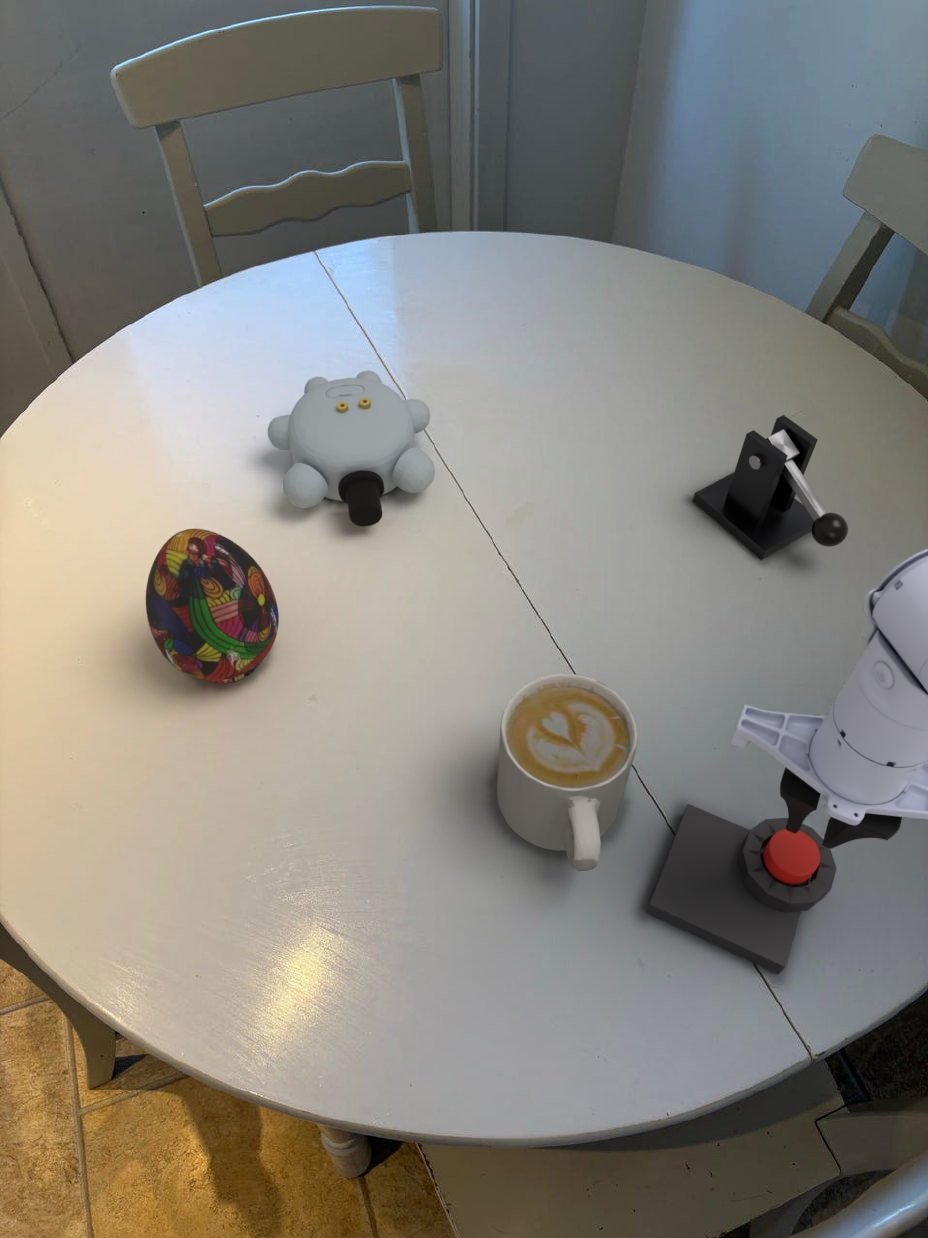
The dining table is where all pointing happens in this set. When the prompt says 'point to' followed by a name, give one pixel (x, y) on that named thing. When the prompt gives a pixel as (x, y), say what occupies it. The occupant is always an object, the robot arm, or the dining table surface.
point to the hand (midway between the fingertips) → (811, 827)
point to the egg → (210, 607)
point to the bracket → (761, 493)
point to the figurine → (352, 445)
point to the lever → (810, 496)
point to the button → (791, 857)
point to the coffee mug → (565, 763)
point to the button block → (735, 887)
